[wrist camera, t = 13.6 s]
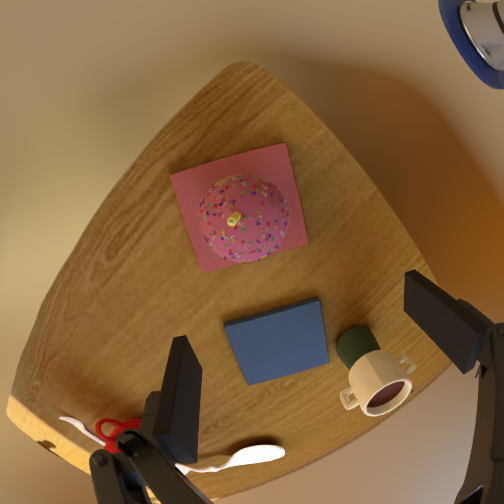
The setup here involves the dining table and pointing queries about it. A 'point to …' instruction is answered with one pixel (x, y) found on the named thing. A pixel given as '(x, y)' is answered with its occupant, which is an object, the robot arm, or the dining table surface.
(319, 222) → the dining table surface
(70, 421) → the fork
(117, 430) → the ceramic cup
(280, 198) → the cupcake
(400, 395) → the character mug
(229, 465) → the spoon
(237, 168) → the rose mat
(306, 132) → the dining table surface
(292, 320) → the blue mat
